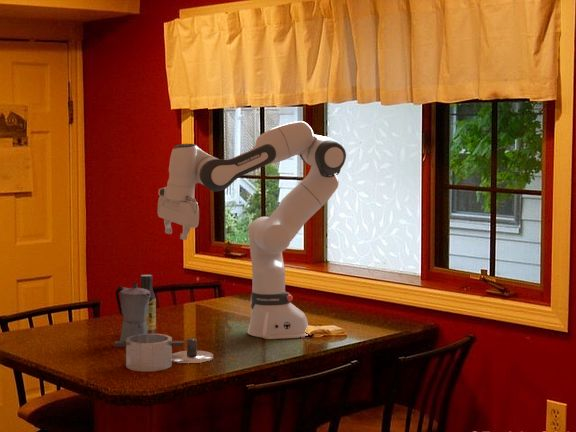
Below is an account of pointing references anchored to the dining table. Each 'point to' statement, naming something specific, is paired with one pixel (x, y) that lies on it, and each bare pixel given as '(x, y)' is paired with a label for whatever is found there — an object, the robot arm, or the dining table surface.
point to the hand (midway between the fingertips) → (175, 236)
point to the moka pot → (133, 310)
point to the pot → (148, 351)
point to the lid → (191, 354)
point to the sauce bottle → (151, 314)
